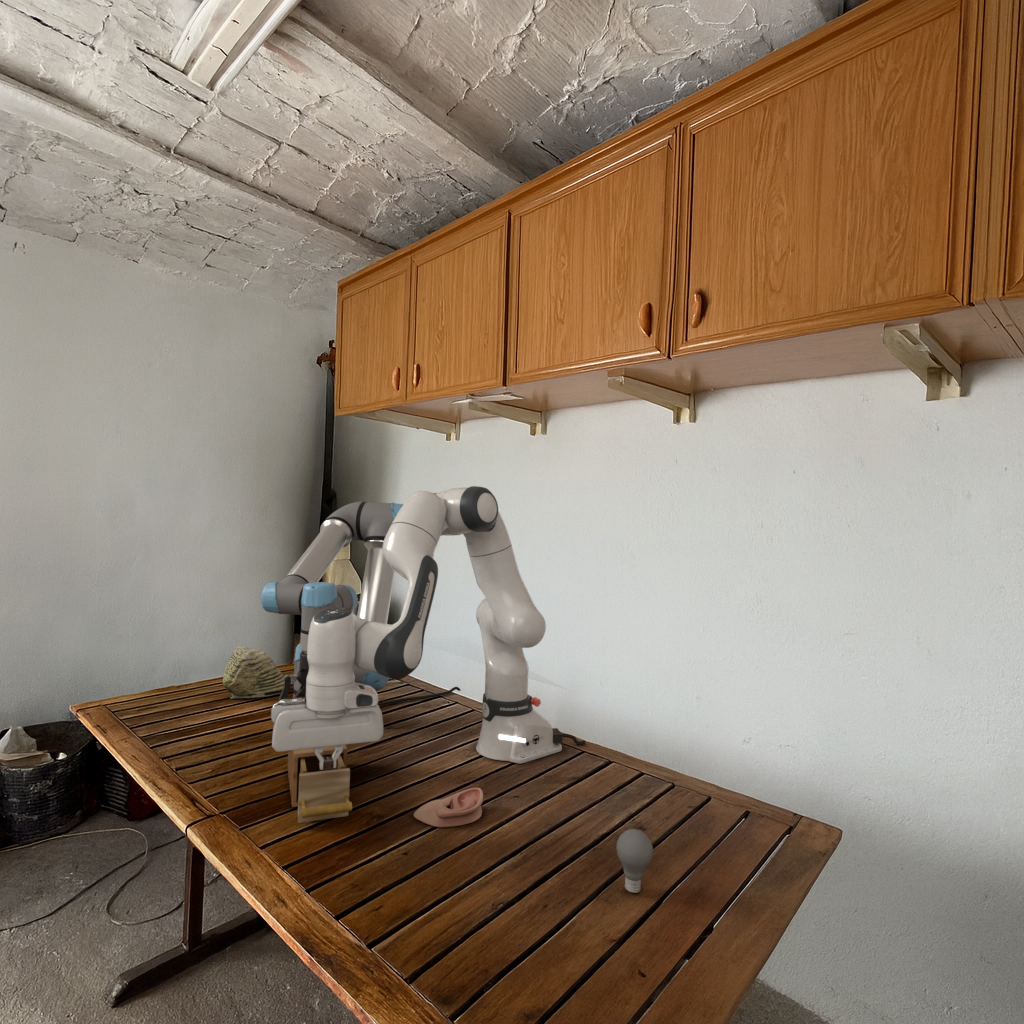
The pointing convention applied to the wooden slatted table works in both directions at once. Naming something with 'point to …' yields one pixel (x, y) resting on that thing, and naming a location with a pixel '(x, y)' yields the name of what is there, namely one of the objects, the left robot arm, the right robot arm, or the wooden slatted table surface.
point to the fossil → (252, 674)
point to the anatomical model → (452, 809)
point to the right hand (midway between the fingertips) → (327, 767)
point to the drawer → (322, 790)
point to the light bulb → (634, 857)
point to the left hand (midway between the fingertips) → (313, 746)
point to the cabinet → (293, 766)
